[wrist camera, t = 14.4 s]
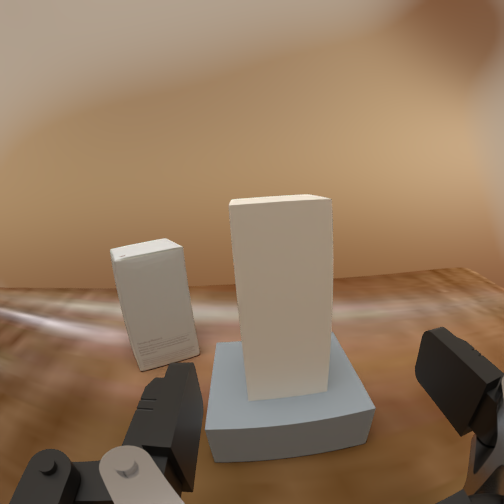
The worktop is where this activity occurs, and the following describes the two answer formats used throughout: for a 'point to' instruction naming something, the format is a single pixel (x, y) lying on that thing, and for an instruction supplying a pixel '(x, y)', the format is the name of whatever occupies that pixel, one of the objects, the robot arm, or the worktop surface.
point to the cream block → (284, 292)
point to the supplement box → (155, 302)
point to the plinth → (284, 412)
